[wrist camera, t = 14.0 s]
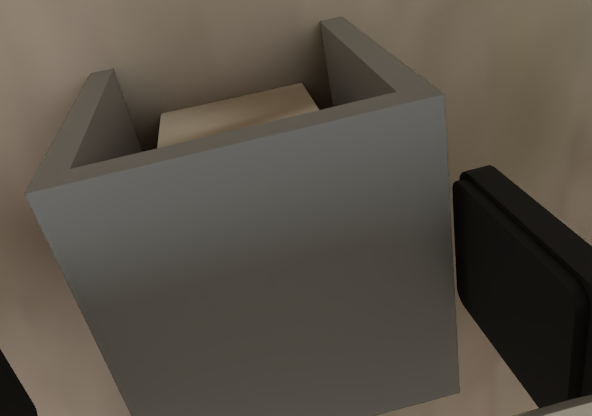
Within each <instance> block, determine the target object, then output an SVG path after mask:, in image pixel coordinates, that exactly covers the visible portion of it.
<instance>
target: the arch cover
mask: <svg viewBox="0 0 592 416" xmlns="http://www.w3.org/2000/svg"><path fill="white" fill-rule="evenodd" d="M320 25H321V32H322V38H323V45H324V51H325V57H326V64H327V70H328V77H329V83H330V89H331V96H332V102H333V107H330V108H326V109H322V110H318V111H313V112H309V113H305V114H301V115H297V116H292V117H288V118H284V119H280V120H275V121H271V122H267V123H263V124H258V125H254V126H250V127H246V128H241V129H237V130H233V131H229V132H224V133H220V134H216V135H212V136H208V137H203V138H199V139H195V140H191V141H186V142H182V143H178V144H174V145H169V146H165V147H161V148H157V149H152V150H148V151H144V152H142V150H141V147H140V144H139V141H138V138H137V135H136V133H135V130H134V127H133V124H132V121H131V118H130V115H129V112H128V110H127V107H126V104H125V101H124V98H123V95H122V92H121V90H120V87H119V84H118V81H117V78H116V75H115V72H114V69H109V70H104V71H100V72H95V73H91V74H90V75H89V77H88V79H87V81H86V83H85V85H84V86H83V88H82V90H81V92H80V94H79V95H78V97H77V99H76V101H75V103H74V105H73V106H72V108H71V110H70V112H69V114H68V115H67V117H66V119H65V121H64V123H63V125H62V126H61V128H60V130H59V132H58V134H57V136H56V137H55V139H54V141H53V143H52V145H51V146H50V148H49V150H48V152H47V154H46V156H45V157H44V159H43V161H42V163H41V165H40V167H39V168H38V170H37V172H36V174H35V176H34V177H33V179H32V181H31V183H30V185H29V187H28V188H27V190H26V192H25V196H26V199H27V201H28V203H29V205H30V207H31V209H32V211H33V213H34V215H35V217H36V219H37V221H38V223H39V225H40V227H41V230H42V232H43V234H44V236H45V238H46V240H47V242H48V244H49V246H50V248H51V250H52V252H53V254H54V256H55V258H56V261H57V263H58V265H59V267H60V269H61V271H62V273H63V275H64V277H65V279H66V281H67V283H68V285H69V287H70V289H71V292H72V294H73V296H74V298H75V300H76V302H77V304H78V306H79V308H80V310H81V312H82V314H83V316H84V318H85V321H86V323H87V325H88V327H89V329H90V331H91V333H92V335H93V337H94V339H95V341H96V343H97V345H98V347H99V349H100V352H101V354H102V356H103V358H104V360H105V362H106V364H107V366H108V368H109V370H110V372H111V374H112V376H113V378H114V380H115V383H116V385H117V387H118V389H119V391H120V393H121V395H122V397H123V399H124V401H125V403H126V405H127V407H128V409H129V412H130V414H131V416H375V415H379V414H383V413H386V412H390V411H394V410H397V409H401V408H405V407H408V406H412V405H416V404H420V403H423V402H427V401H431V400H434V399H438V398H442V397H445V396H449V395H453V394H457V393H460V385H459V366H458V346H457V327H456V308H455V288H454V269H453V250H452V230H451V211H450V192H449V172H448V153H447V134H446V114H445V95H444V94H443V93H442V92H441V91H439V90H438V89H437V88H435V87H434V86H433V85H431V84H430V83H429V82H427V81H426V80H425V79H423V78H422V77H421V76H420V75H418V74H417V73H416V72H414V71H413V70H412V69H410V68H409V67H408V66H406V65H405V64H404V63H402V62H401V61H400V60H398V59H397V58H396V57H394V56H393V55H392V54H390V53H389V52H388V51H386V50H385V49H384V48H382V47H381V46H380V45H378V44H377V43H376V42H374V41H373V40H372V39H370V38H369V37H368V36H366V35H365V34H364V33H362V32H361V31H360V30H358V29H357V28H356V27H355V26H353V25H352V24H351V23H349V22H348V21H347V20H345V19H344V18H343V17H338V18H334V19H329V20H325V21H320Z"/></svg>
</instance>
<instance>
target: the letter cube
mask: <svg viewBox="0 0 592 416" xmlns="http://www.w3.org/2000/svg"><path fill="white" fill-rule="evenodd" d="M318 110H319V109H318V107H317V106H316V104H315V103H314V101H313V99H312V98H311V96H310V95H309V93H308V92H307V90H306V89H305V87H304V85H303V84H302V83H298V84H294V85H289V86H285V87H280V88H275V89H271V90H266V91H262V92H257V93H253V94H248V95H244V96H239V97H235V98H230V99H226V100H221V101H217V102H212V103H207V104H203V105H198V106H194V107H189V108H185V109H180V110H176V111H171V112H167V113H162V114H161V118H160V127H159V136H158V145H157V148H161V147H165V146H169V145H174V144H178V143H182V142H186V141H191V140H195V139H199V138H203V137H208V136H212V135H216V134H220V133H224V132H229V131H233V130H237V129H241V128H246V127H250V126H254V125H258V124H263V123H267V122H271V121H275V120H280V119H284V118H288V117H292V116H297V115H301V114H305V113H309V112H313V111H318Z"/></svg>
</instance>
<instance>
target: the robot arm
mask: <svg viewBox="0 0 592 416" xmlns="http://www.w3.org/2000/svg"><path fill="white" fill-rule="evenodd" d="M452 191H453V213H454V234H455V256H456V278H457V291H458V294H459V297H460V300H461V302H462V304H463V305H464V307H465V308H466V309H467V311H468V312H469V314H470V315H471V316H472V318H473V319H474V320H475V322H476V323H477V324H478V326H479V327H480V328H481V330H482V331H483V333H484V334H485V335H486V337H487V338H488V339H489V341H490V342H491V343H492V345H493V346H494V348H495V349H496V350H497V352H498V353H499V354H500V356H501V357H502V358H503V360H504V361H505V362H506V364H507V365H508V367H509V368H510V369H511V371H512V372H513V373H514V375H515V376H516V377H517V379H518V380H519V382H520V383H521V384H522V386H523V387H524V388H525V390H526V391H527V392H528V394H529V395H530V397H531V398H532V399H533V401H534V402H535V403H536V405H537V406H538V407H539V409H535V410H532V411H528V412H525V413H521V414H517V415H514V416H592V246H590V245H589V244H588V243H587V242H586V241H584V240H583V239H582V238H581V237H579V236H578V235H577V234H576V233H574V232H573V231H572V230H571V229H570V228H568V227H567V226H566V225H565V224H563V223H562V222H561V221H560V220H558V219H557V218H556V217H555V216H554V215H552V214H551V213H550V212H549V211H547V210H546V209H545V208H544V207H542V206H541V205H540V204H539V203H538V202H536V201H535V200H534V199H533V198H531V197H530V196H529V195H528V194H527V193H525V192H524V191H523V190H522V189H520V188H519V187H518V186H517V185H515V184H514V183H513V182H512V181H511V180H509V179H508V178H507V177H506V176H504V175H503V174H502V173H501V172H499V171H498V170H497V169H496V168H495V167H493V166H491V165H488V166H484V167H480V168H476V169H473V170H469V171H465V172H462V173H461V175H460V180H459V181H455V182H454V183H453V188H452ZM0 416H38V415H37V411H36V408H35V406H34V404H33V402H32V401H31V399H30V397H29V396H28V394H27V392H26V391H25V389H24V387H23V386H22V384H21V383H20V381H19V379H18V378H17V376H16V374H15V373H14V371H13V369H12V368H11V366H10V364H9V363H8V361H7V359H6V358H5V356H4V355H3V353H2V351H1V350H0Z"/></svg>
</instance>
